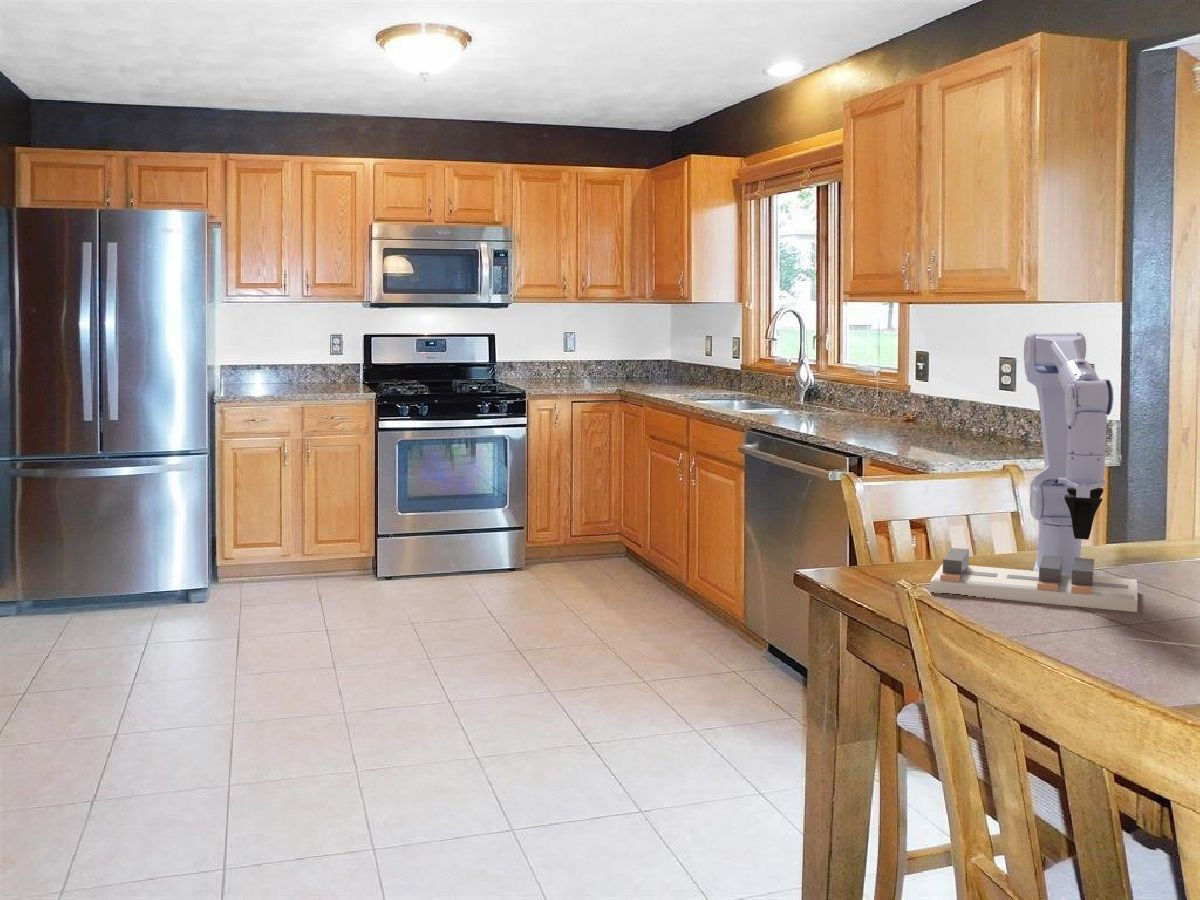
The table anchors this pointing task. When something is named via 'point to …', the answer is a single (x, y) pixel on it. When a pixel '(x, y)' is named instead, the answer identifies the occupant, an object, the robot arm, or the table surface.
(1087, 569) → the slider
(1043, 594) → the switch panel
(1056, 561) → the slider middle
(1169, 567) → the table surface
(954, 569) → the slider
